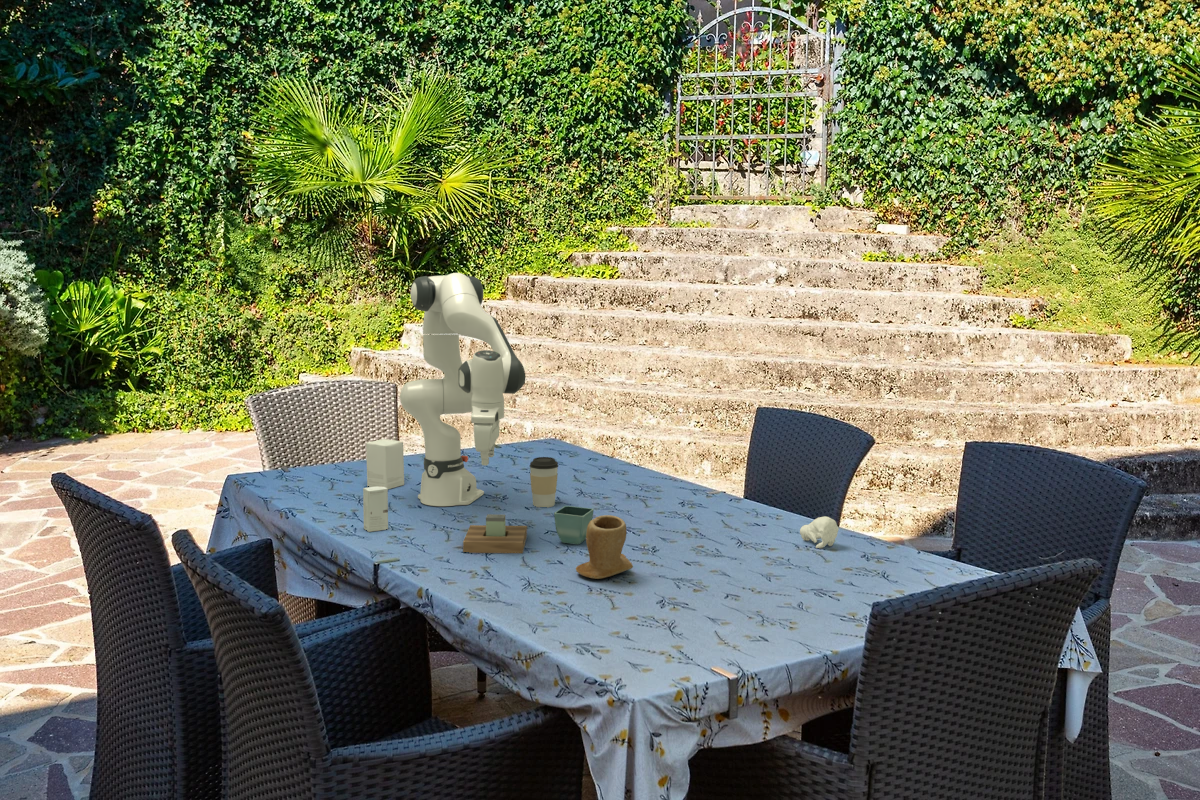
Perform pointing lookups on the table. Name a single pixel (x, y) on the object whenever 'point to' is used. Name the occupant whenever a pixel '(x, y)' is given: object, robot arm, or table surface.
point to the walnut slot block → (495, 540)
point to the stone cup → (605, 548)
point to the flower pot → (572, 523)
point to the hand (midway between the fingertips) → (487, 460)
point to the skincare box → (375, 508)
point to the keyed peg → (495, 525)
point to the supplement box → (385, 463)
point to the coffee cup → (543, 481)
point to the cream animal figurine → (820, 531)
